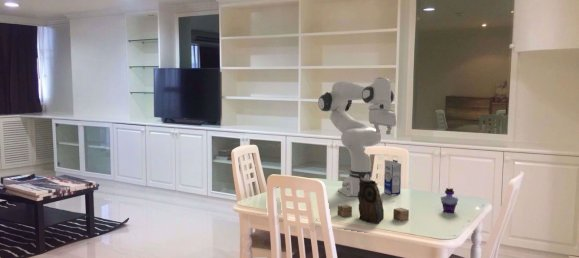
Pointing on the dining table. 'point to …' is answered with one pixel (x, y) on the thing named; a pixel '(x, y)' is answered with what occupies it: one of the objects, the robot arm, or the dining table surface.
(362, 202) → the dark brown speaker
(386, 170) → the milk carton
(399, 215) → the walnut block two
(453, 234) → the dining table surface
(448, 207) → the potion bottle
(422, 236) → the dining table surface
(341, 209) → the walnut block one
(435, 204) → the dining table surface
